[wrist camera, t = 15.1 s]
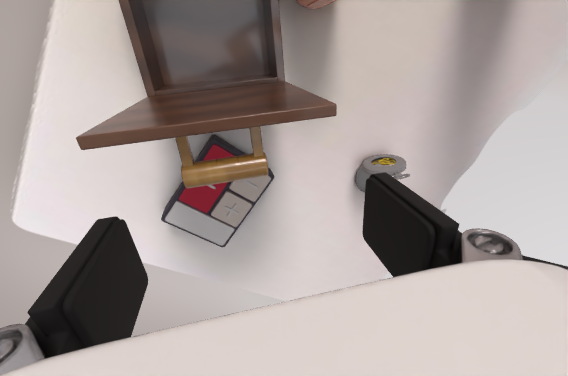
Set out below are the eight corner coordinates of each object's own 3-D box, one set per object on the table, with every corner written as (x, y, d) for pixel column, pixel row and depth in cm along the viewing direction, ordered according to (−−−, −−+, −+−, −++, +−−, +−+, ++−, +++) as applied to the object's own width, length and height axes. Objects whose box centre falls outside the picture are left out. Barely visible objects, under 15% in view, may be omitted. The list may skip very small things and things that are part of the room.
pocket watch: (367, 197, 51) (397, 227, 42) (341, 169, 48) (367, 195, 39) (401, 167, 50) (439, 191, 41) (377, 136, 46) (413, 155, 37)
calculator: (276, 178, 42) (223, 251, 45) (271, 168, 46) (223, 236, 49) (212, 138, 37) (158, 223, 40) (212, 132, 41) (163, 209, 44)
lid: (74, 137, 16) (107, 211, 18) (336, 103, 18) (336, 173, 20) (146, 97, 30) (159, 140, 33) (285, 81, 32) (288, 123, 35)
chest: (118, -60, 30) (91, -89, 24) (262, -65, 32) (271, -93, 26) (160, 92, 37) (148, 100, 31) (275, 79, 39) (285, 84, 33)
